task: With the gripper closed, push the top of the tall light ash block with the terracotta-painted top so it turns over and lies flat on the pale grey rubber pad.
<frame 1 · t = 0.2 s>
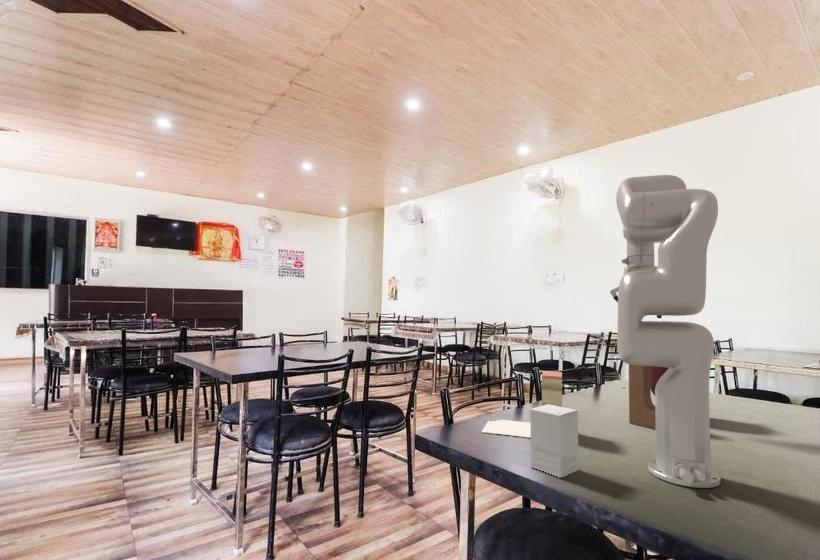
hand: (641, 317, 131), 31 cm above the table, fingers open, 9 cm apart
mate gourd: (675, 417, 133), on the table
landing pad: (510, 428, 119), on the table
wooden block: (648, 426, 124), on the table
supplement box: (554, 470, 91), on the table
ash block: (552, 433, 115), on the table
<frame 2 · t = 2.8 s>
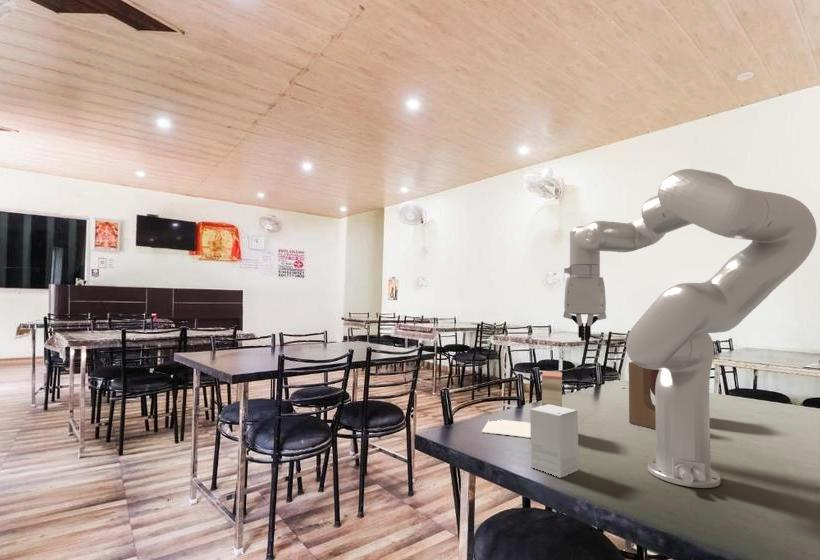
hand: (584, 340, 114), 25 cm above the table, fingers closed
nothing on the table moved.
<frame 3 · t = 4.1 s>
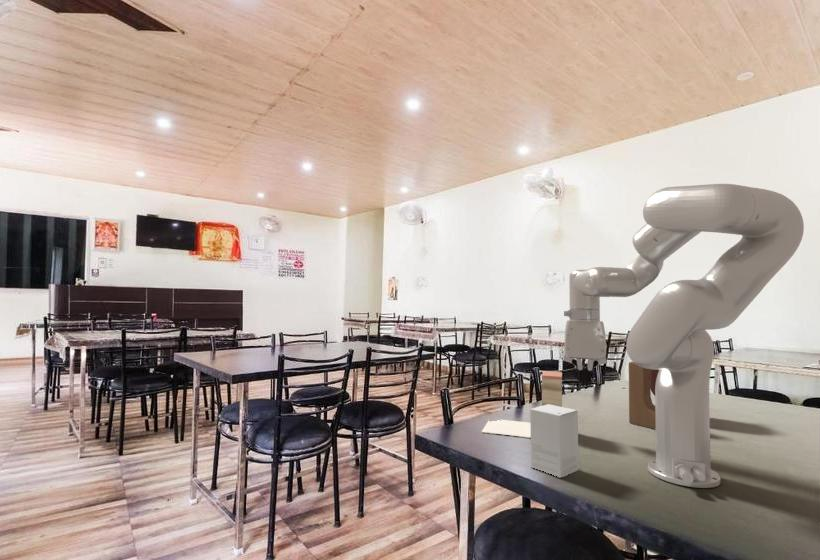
hand: (584, 384, 113), 14 cm above the table, fingers closed
nothing on the table moved.
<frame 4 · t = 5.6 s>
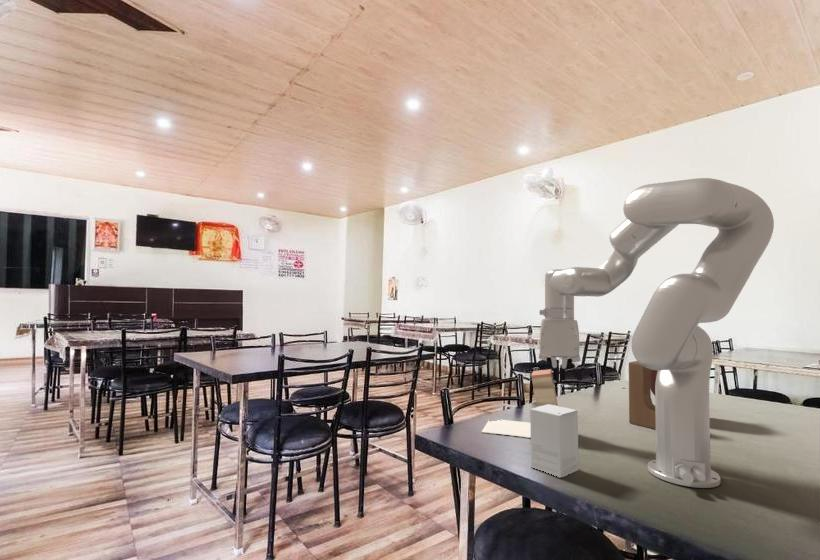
hand: (559, 382, 116), 14 cm above the table, fingers closed
ash block: (552, 431, 115), on the table, tilted 10°
everything else where it was.
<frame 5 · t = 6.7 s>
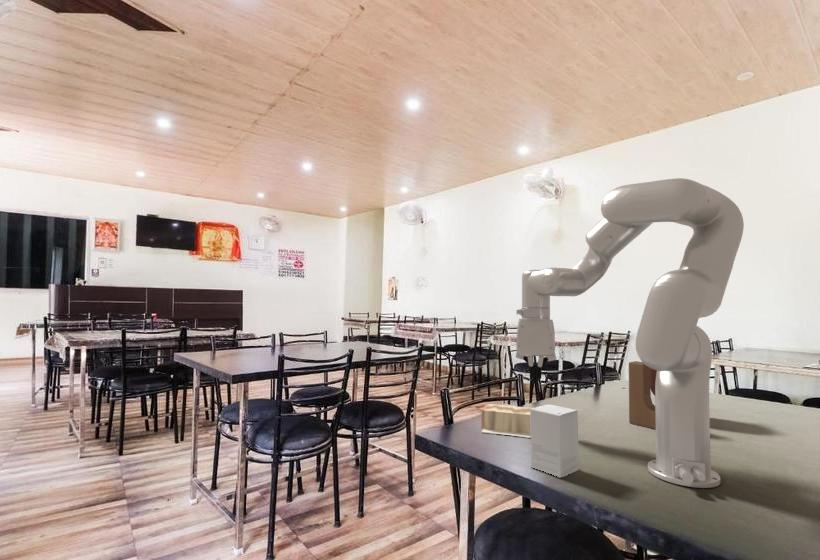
hand: (535, 380, 118), 14 cm above the table, fingers closed
ash block: (542, 421, 116), point 3 cm above the table, tilted 90°, touching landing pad
everything else where it was.
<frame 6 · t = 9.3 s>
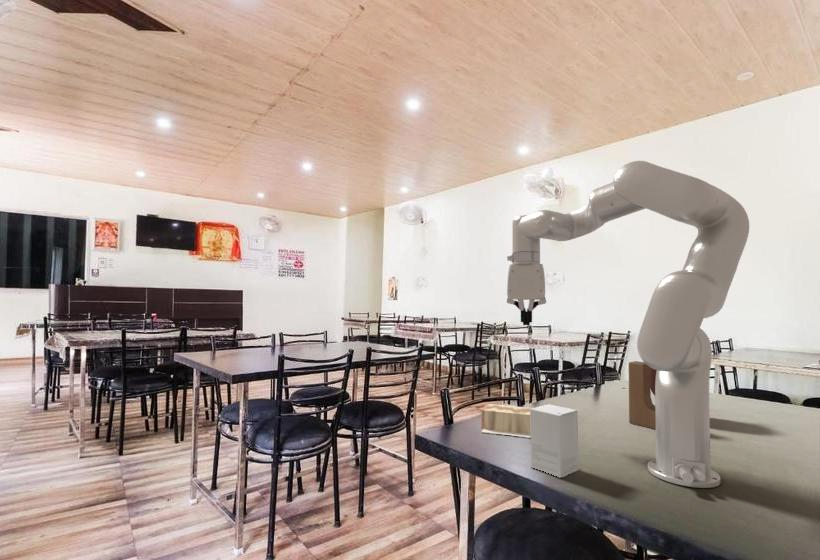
hand: (526, 324, 119), 29 cm above the table, fingers closed
nothing on the table moved.
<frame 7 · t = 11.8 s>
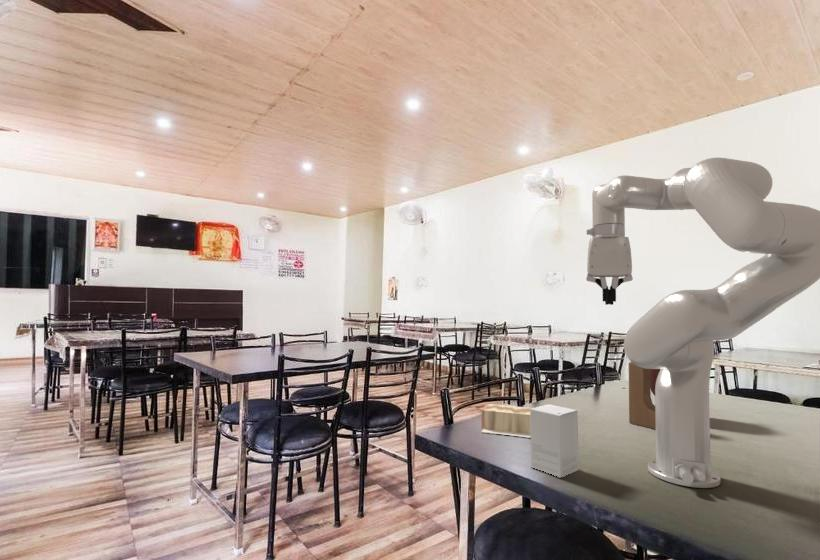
hand: (609, 304, 109), 35 cm above the table, fingers closed
nothing on the table moved.
at the end: ash block tilted 90°; ash block inside the target area (3.5 cm from its centre), point 2.8 cm above the table; the gripper is holding nothing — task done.
